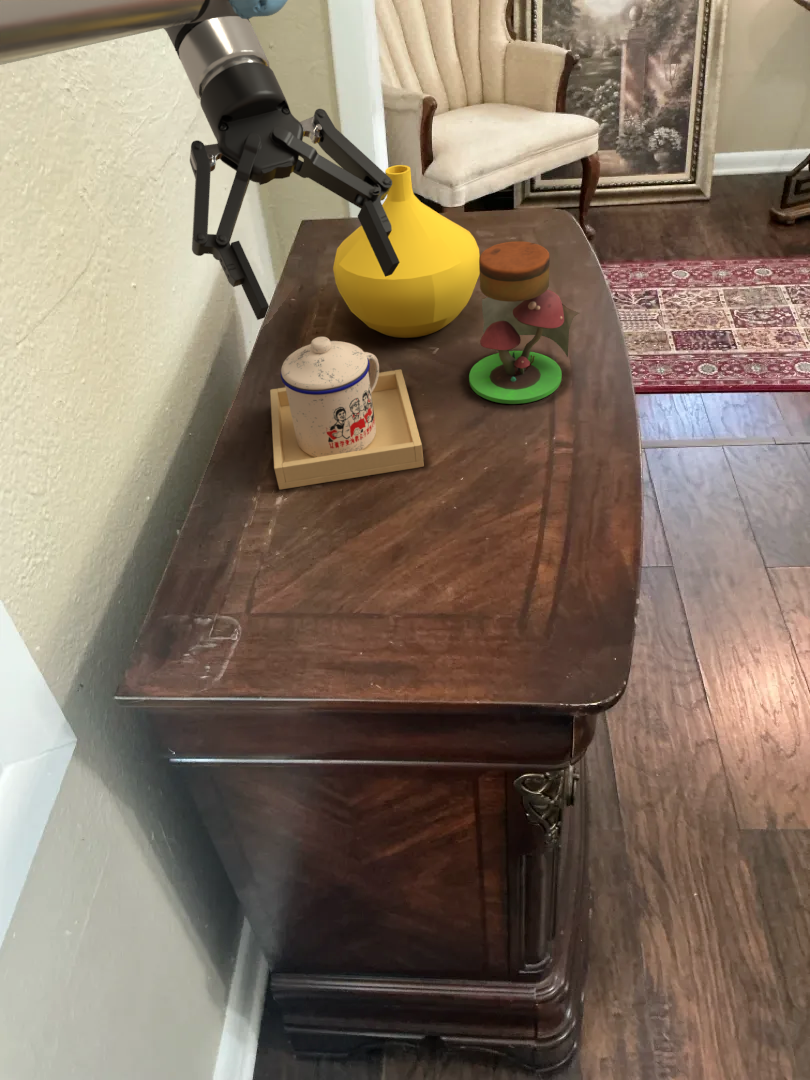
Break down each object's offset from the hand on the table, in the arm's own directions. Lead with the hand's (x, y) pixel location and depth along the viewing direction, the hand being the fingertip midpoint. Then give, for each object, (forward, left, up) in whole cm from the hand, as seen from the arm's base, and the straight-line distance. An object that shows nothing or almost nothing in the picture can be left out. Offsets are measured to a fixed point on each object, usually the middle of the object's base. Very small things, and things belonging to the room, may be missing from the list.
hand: (329, 291), depth 81 cm
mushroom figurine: (+20, +8, -18) cm, 28 cm away
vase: (+10, +26, -18) cm, 34 cm away
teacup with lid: (-1, +2, -17) cm, 18 cm away
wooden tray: (-1, +2, -18) cm, 18 cm away
